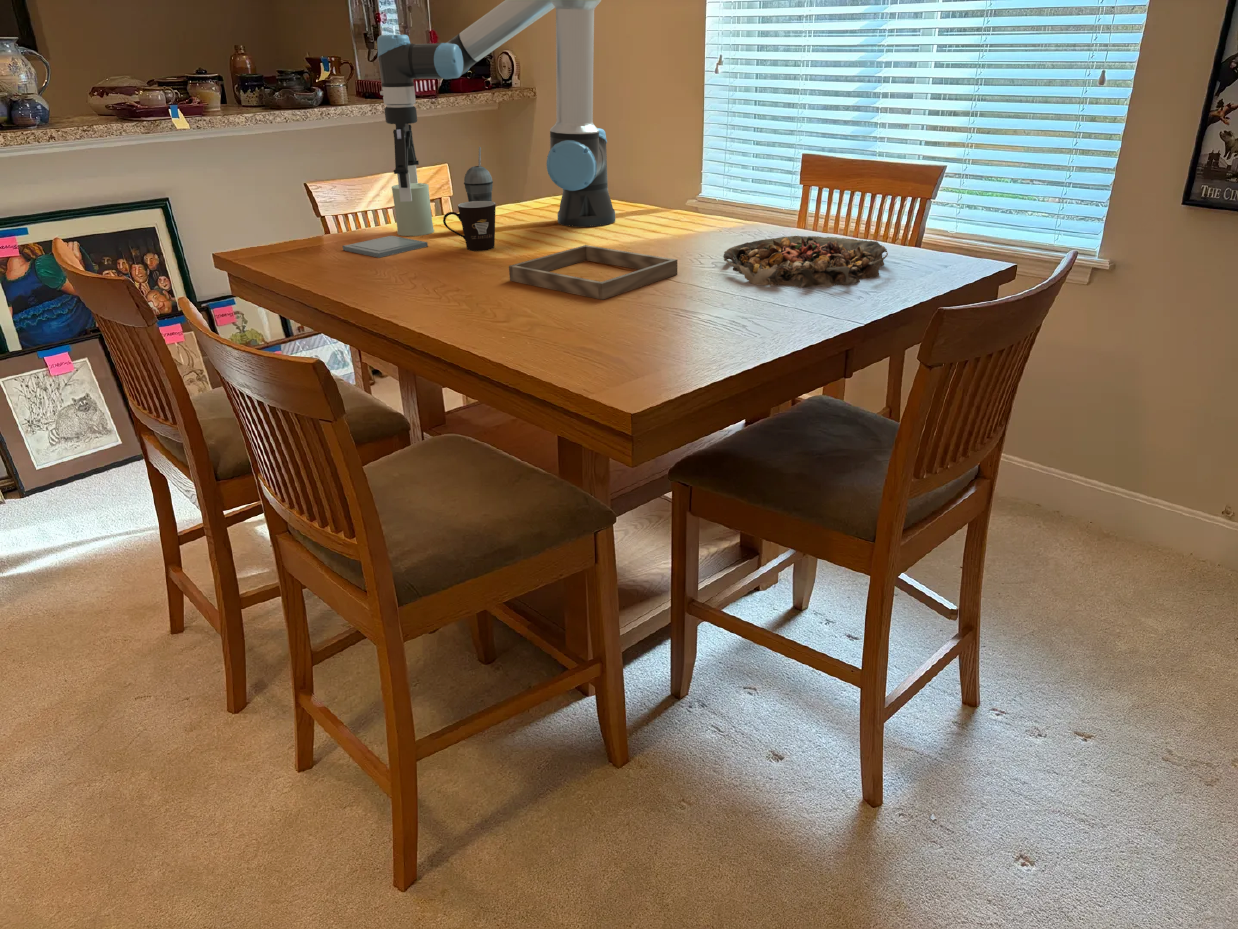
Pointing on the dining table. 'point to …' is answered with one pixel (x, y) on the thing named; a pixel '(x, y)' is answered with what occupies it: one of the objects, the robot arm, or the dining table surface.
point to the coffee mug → (476, 224)
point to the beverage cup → (478, 183)
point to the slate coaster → (385, 246)
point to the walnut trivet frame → (539, 276)
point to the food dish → (807, 261)
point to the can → (413, 211)
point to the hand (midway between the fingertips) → (409, 196)
